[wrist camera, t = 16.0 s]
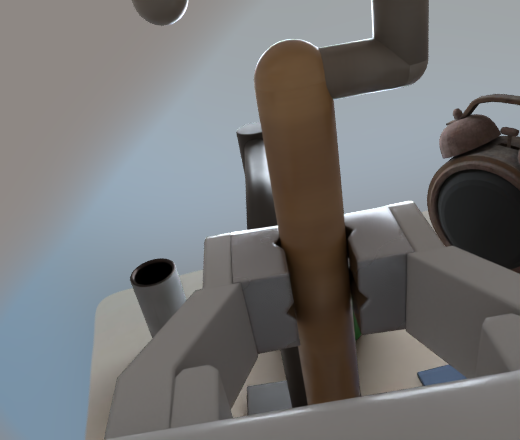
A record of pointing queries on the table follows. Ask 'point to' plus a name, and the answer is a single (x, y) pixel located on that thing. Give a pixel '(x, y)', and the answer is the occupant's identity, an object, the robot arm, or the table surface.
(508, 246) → the alarm clock
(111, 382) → the table surface
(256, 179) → the rail
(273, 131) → the hanger
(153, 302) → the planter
